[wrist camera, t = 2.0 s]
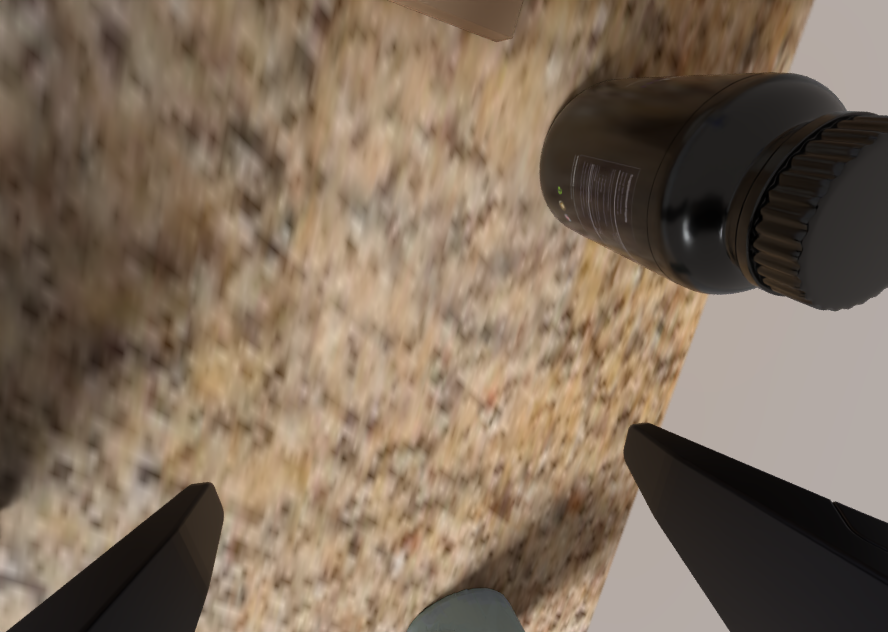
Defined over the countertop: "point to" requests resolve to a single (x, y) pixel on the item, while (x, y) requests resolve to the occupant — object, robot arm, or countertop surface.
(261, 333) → the countertop surface
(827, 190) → the supplement bottle
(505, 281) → the countertop surface
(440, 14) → the walnut board
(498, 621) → the blue-grey cup
